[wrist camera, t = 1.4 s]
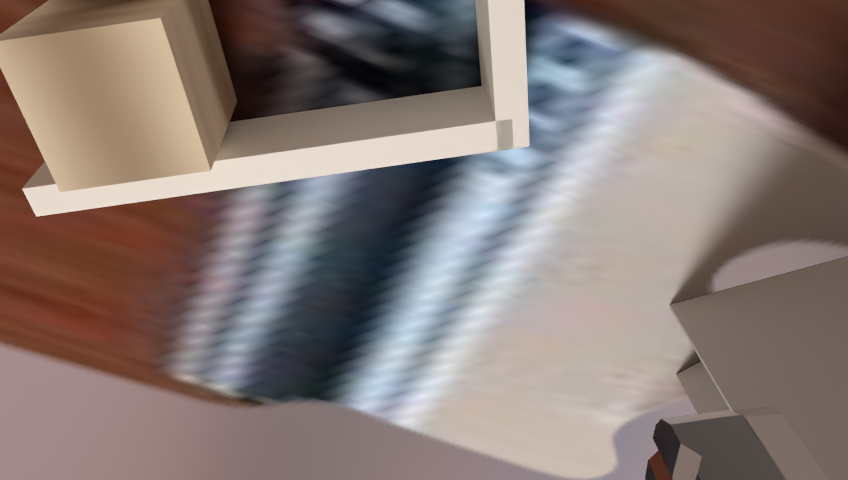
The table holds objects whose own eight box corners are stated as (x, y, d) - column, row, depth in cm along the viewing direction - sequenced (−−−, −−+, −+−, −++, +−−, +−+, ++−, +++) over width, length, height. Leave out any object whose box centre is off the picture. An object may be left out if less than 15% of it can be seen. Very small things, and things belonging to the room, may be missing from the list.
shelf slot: (500, -135, 24) (519, -123, 21) (512, 109, 29) (529, 146, 26) (-38, -58, 24) (-93, -36, 21) (69, 172, 29) (36, 216, 26)
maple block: (200, -29, 25) (160, 17, 20) (237, 100, 28) (211, 170, 23) (63, -10, 25) (-12, 42, 20) (113, 118, 28) (60, 192, 23)
